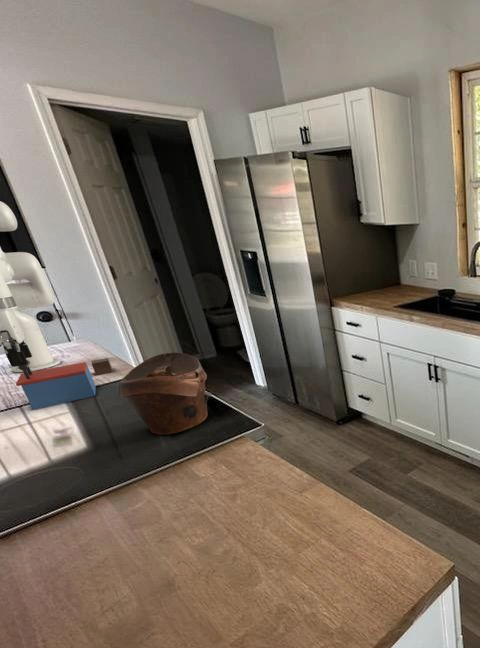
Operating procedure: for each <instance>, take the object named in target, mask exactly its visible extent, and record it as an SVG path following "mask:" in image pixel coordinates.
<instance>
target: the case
mask: <svg viewBox="0 0 480 648" xmlns="http://www.w3.org/2000/svg"><path fill="white" fill-rule="evenodd" d="M207 379H208V375H207V373H206V372H205V370H204V367H202V364H201V362H200V361H199V359H198V358H197V357H195V356H193V355H192V354H187V353H183V352H164V353H161V354H160V353H159V354H157V355H154V356H151V357H149V358H147V359H145V360H144V361H142V362H141V363H139V364H138V365H136V366H135V367H133V368H132V369H131V370H130V371H129V372H128V373H127V374H126V375H125V376H123V378H122V379H121V380H120V381H119V384H118V394H119V396H120V397H122V398H126V400H127V401H128V402H129V404H130V405H131V406H132V409H134V410H135V412H136V413H137V415H138V416H139V417H140V418H141V420H142V421H143V422H144V424H145V425H146V426H147V428H148V429H149V431H150V432H151V433H152V434H155V435H159V436H166V435H174V434H177V433H180V432H185V431H187V430H189V429H192V428H194V427H196V426H198V425H200V424H202V422H204V421H205V420H206V419H207V418H208V415H209V414H208V412H209V411H208V401H209V397H212V396H213V394H212V392H209V391H207V390H206V381H207Z"/></svg>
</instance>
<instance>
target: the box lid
mask: <svg viewBox="0 0 480 648" xmlns="http://www.w3.org/2000/svg"><path fill="white" fill-rule="evenodd" d="M27 362H28V364H27V365H22V366H18V368H19V369H20V370H23V372H21V373H20V375H19V377H18V379H17V381H16V383H15V385H16V387H20V386H21V385H26V384H31V383H36V382H42V381H47V380H52V379H57V378H62V377H67V376H73V375H78V374H83V373H86V365H87V366H88V364H87V362H86V361H82V362H78V363H72V364H67V365H62V366H61V365H60V366H54V367H49V368H45V369H41V370H35V371H31V369H30V367H29V364H30V361H28V360H27Z"/></svg>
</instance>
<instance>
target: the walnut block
mask: <svg viewBox="0 0 480 648" xmlns="http://www.w3.org/2000/svg"><path fill="white" fill-rule="evenodd" d="M90 363H91V367H92V369H93V371H94V373H95V376H100V375H104V374H111V373H113V371H114V370H113V366H112V364H111V361H110V359H109V357H105V358H99V359H93V360H91V362H90Z"/></svg>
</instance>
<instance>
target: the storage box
mask: <svg viewBox="0 0 480 648" xmlns="http://www.w3.org/2000/svg"><path fill="white" fill-rule="evenodd" d="M96 388H97V385H96V382H95V381H94V378H93V376H92V373H91V370H90V369H89V366H88V364H87V365H86V373H83V374H78V375H73V376H67V377H62V378H57V379H52V380H47V381H42V382H36V383H31V384H26V385H21V389H22V390H23V393H24V395H25V397H26V399H27V401H28V403H29V405H30V407H31V409H32V410H38V409H42V408H46V407H52V406H57V405H60V404H65V403H69V402H73V401H79V400H82V399H88V398H93V397H96V391H97V389H96Z"/></svg>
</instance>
